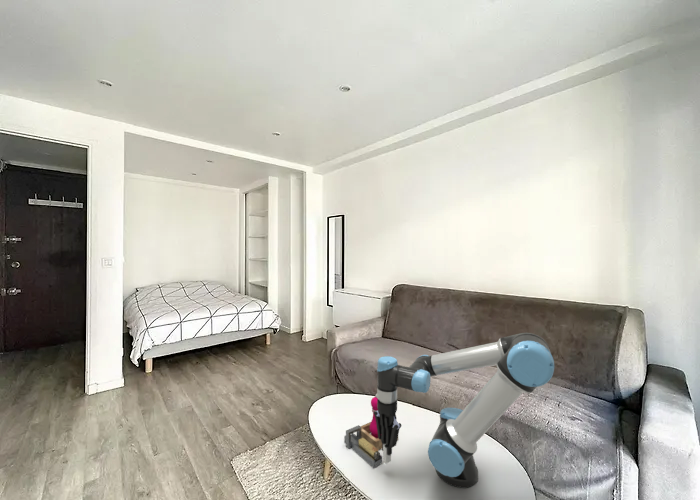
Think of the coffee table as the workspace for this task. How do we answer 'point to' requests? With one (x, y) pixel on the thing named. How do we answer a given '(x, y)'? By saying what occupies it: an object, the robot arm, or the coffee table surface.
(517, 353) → the robot arm
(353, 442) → the rail
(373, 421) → the pepper mill
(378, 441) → the cradle
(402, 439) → the coffee table surface
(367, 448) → the pin
